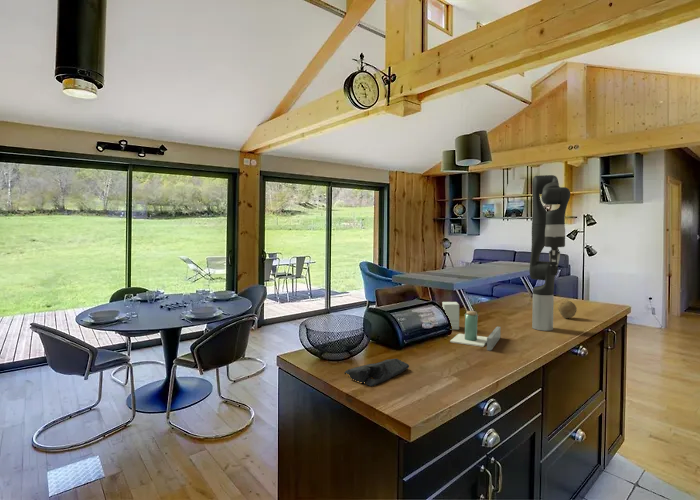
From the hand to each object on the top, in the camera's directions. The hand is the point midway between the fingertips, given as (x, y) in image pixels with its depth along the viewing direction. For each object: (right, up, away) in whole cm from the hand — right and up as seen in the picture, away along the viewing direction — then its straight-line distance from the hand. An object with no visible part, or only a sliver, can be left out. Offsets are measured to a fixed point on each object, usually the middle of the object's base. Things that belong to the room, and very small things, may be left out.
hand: (554, 274), depth 162 cm
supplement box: (-35, -29, +32) cm, 56 cm away
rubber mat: (-32, -30, +9) cm, 45 cm away
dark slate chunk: (-76, -33, -29) cm, 88 cm away
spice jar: (-32, -29, +9) cm, 45 cm away
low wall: (-24, -30, +4) cm, 39 cm away
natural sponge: (+34, -28, +50) cm, 66 cm away
